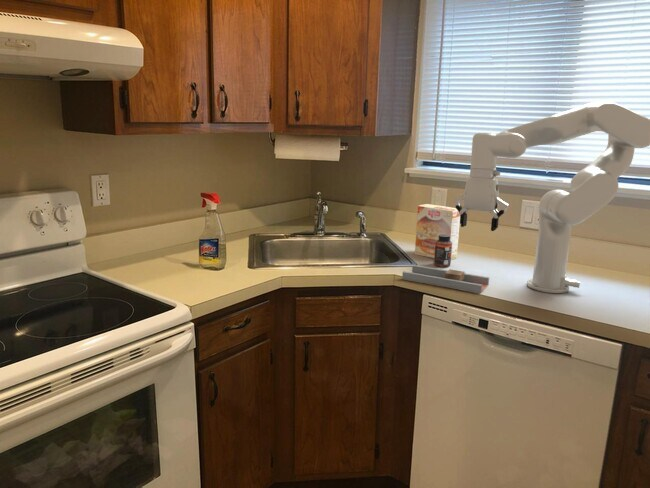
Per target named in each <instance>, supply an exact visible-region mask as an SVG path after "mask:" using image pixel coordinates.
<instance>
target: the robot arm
mask: <svg viewBox="0 0 650 488" xmlns="http://www.w3.org/2000/svg"><path fill="white" fill-rule="evenodd" d="M594 132H603V133H605V134H607V135H608V138H607V139H608V140H607V146H606V148H605V150H604V152H603V153H602V154H600V155H599V156H598V157H597V158H596V159H594V160H593V161H592V162H590V163H589V164H588V165H586V166H584V168H582V169H581V170H579V171H578V172H577V173H576V174H575V175H574V176H573V177H572V179H571V181H570V185H569V186H570V190H571V192H568V191H567V190H563V189H552V190H549V191H547V192H546V193H545V194H543V196H542V197H541V198H540V200H539V205H538V233H537V240H536V248H535V249H536V250H535V257H534V267H533V275H532V278H530V279H528V280H527V281H526V285H527V286H528V288H530V289H533V290H535V291H538V292H543V293H548V294H562V293H567V292H569V290H570V287H572V288H577V289H579V288H580V286H581V281H578V280H576V279H570V278H569V277H568V274H566V273H567V267H568V266H567V265H568V259H569V253H570V252H569V251H570V244H571V237H572V227H574V226H578V225H579V224H582V223H583V222H584V221H586V220H588V219H589V218H590V217H592V216H593V215H594V214H596V213H597V212H598V211H599V210H602V208H604V207H606V205H608V204H609V203H610V202H611V201H612V200H613V199H614V198H615V197H616V195H617V193H618V191H619V181H618V179H619V177H621V176H622V175H623V174H624V173H625V172H626V171H627V170H628V169H629V168H630V166H631V165H632V162H633V159H634V156H635V155H634V154H635V149H643V148H646V147H647V148H648V147H650V118H648V117H646V116H644V115H642V114H639V113H637V112H635V111H633V110H632V109H629V108H627V107H625V106H622V105H621V104H618V103H616V102H613V101H594V102H589V103H586V104H584V105H580V106H578V107H575V108H572V109H570V110H566V111H563V112H560V113H556V114H553V115H551V116H547V117H544V118H541V119H537V120H536V121H535V120H534V121H532V122H528V123H525V124H521V125H517V126H514V127H512V128H509V129H507V130H503V131H501V132H499V133H493V132H477V133H475V134H474V135H473V136H472V140H471V141H472V142H471V143H472V144H471V156H470V157H471V158H470V170H469V171H470V172H469V177H467V179H466V183H465V187H464V191H463V192H464V193H463V195H461V196H459V197H457V198H454V199H453V200H452V202H453V204H454V206H455V208H456V209H457V210H458V211H459V214H460V227H461V228H464V227H466V226H467V223H468V222H467V221H468V213H467V212H468V210H470V211H480V212H490V214H491V215H492V218H491V223H490V224H491V225H490V231H491V232H494V231H496V230H497V229H498V227H499V219H500V217H501V216H503V214H505V212H506V211H507V209H509V203H507V202H505V201H503V200H502V199H501V198H500V189H499V179H498V178H496V177H497V176H501V171H499V170H497V159H498V157H499V158H506V159H517V158H520V157H521V156H523V155H524V153H526V151H527V148H528V149H529V148H532V147H537V146H547V145H548V146H549V145H550V146H551V145H558V144H560V143H561V144H562V143H565V142H567V141H570V140H572V139H575V138H579V137H581V136H585V135H588V134H591V133H594ZM460 202H462V205H461V203H460ZM462 206H463V207H462ZM499 206H501V209H500V210H499V211H498V209H499Z"/></svg>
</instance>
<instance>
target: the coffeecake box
mask: <svg viewBox="0 0 650 488" xmlns="http://www.w3.org/2000/svg"><path fill="white" fill-rule="evenodd" d="M416 215H417V218H416V230H415V243H414V244H415V246H414V248H415V249H414V255H416V256H423V257H426V258H431V259H434V257H435V244H436V241H437V240H439V235H440V234H446V235H450V241H451V242H452V252H451V261H452V260H456V259H457V258H458V257H457V256H458V249H459V247H458V245H459V236H460V234H459V233H460V226H461V224H460V214H459V211H458V210H457V209H456V207H450V206H443V205H439V204H438V205H436V204H430V203H425V204H420V205H419V204H418V206H417V214H416Z"/></svg>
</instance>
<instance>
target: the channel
mask: <svg viewBox="0 0 650 488" xmlns="http://www.w3.org/2000/svg"><path fill="white" fill-rule="evenodd" d="M411 268H412V269H411V271H406V270H405V271H402V277H401V280H404V281H409V282H410V281H411V282H415V283H416V282H417V283H421V284H427V285H430V286H431V285H432V286H438V287H443V288H450V289H455V290H460V291H465V292H470V293H477V294H482V293H483V292H484V291H485V290H486V288H487V287H488V286H489V285H490V276H484V275H479V274H478V275H477V274H472V273H466V272H465V274H464V281H458V280H452V279H446V278H445V273H446V272H447V271H448V270H449V269H448V270H447V269H441V268H435V267H429V266H428V267H427V266H423V265H417V264H413V265H412V266H411Z"/></svg>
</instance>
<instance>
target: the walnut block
mask: <svg viewBox="0 0 650 488" xmlns="http://www.w3.org/2000/svg"><path fill="white" fill-rule="evenodd" d="M465 273H466V272H465V271H462V270H455V269H451V268H450V269H448V271H447V272H446V273H445V278H446V279H452V280H458V281H464V274H465Z"/></svg>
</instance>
